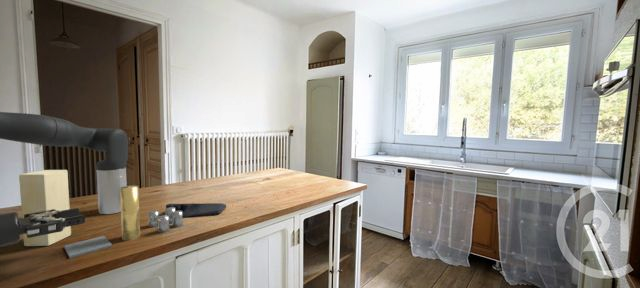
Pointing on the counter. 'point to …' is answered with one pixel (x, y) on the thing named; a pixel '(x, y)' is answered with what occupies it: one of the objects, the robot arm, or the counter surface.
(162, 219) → the steel spacer
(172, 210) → the steel spacer
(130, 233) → the brass sleeve
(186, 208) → the dark slate chunk
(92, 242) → the slate pad
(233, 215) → the counter surface
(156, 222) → the steel spacer
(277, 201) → the counter surface
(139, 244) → the counter surface
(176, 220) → the steel spacer
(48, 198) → the cream rectangular block
